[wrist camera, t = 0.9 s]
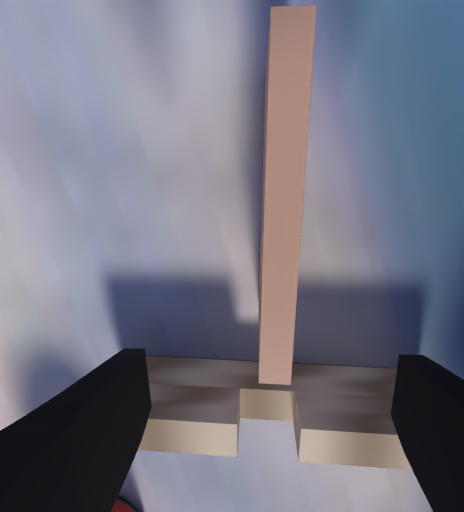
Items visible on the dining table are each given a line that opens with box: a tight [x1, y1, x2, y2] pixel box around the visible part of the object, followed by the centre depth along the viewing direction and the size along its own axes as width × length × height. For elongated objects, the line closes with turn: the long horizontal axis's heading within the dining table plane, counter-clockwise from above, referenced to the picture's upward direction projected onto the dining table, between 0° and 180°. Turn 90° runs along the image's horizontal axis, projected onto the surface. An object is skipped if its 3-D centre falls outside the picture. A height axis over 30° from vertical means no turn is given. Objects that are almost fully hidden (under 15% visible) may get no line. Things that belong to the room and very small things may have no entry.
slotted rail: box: [138, 356, 412, 470], centre depth 18 cm, size 18×2×5 cm, turn 90°
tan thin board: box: [259, 5, 317, 385], centre depth 14 cm, size 1×12×7 cm, turn 0°
